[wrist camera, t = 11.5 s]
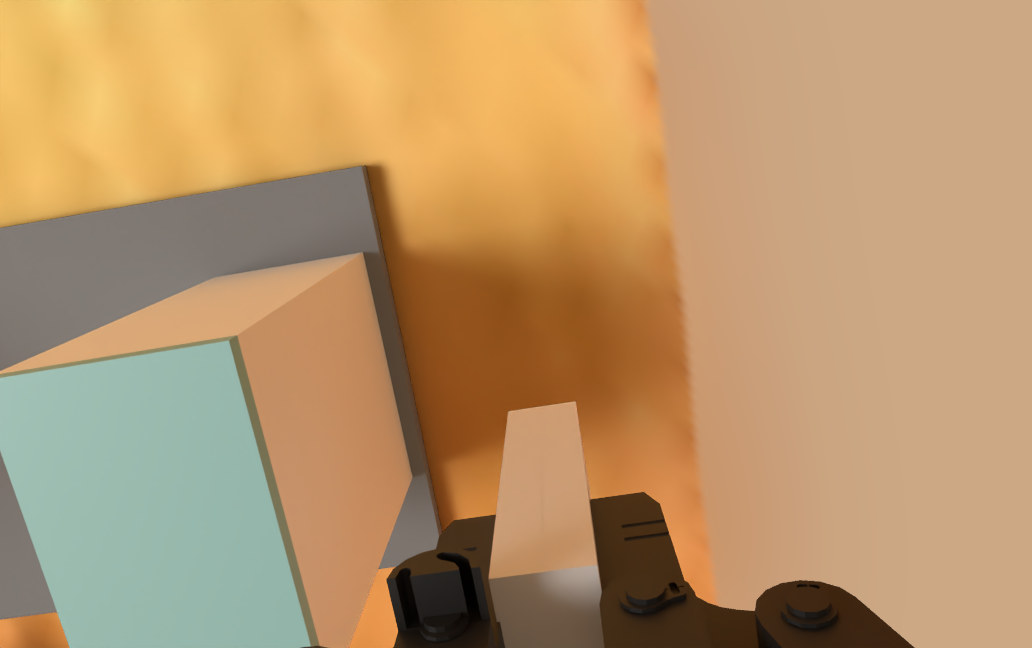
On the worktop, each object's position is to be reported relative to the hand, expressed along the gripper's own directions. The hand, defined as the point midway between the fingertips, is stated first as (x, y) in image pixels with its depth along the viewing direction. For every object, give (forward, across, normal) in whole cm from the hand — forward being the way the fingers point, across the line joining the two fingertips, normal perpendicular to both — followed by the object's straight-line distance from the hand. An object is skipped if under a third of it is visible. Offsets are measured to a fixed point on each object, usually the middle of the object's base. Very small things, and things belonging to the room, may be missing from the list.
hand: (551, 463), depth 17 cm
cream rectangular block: (+9, -8, 0) cm, 12 cm away
